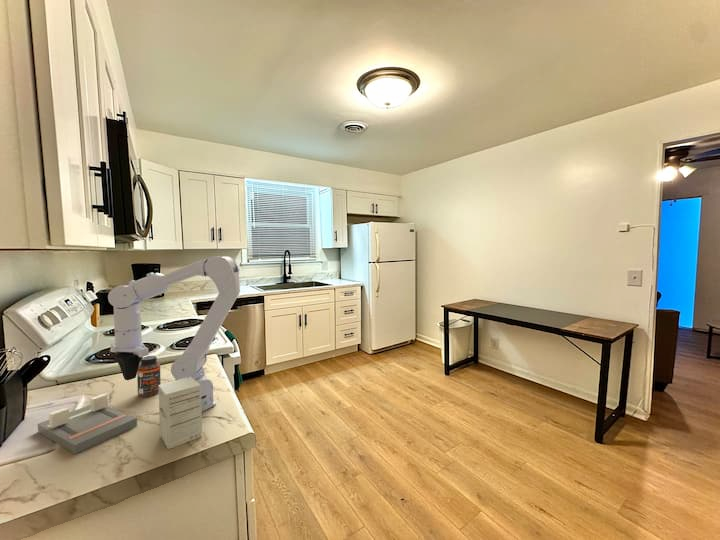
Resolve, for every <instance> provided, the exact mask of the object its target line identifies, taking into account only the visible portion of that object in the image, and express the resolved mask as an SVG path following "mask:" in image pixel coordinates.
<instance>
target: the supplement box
mask: <svg viewBox="0 0 720 540" xmlns="http://www.w3.org/2000/svg"><path fill="white" fill-rule="evenodd" d="M158 387H159V393H158V409H159V410H158V411H159V415H158V416H159V434H160V435H159V436H160V438H161V439H162V440H163V442H164V444H165V446H166V449H167V450H171V449H173V448H176V447H178V446H181V445H183V444H186V443H189V442H191V441H194V440H196V439H199V438H202V437H203V417H202V416H203V415H202V413H203V411H202V406H201V385H200V384H199V383H198V382H197V381H196V380H195V379H194V378H192V377H186V378H183V379H179V380H175V379H174V380H172V381H168V382H164V383H161V384H160V385H158ZM198 437H199V438H198ZM195 438H196V439H195ZM193 439H194V440H193ZM190 440H191V441H190ZM188 441H189V442H188Z"/></svg>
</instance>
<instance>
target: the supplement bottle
mask: <svg viewBox="0 0 720 540" xmlns="http://www.w3.org/2000/svg"><path fill="white" fill-rule="evenodd" d="M157 360H158V359H157V356H156V355H147V356H143V358H142V360H141V362H140V364H139V367H138V371H137V375H136V377H137V381H136V382H137V395H138V396H139V397H141V398H143V397H144V398H145V397H146V398H147V397H151V396H154V395H157V394H159V387H158V385H160V384H162V383H161V381H162V378H161V375H162V373H161V371H162V370H161V364H160V362H158V361H157Z"/></svg>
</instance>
